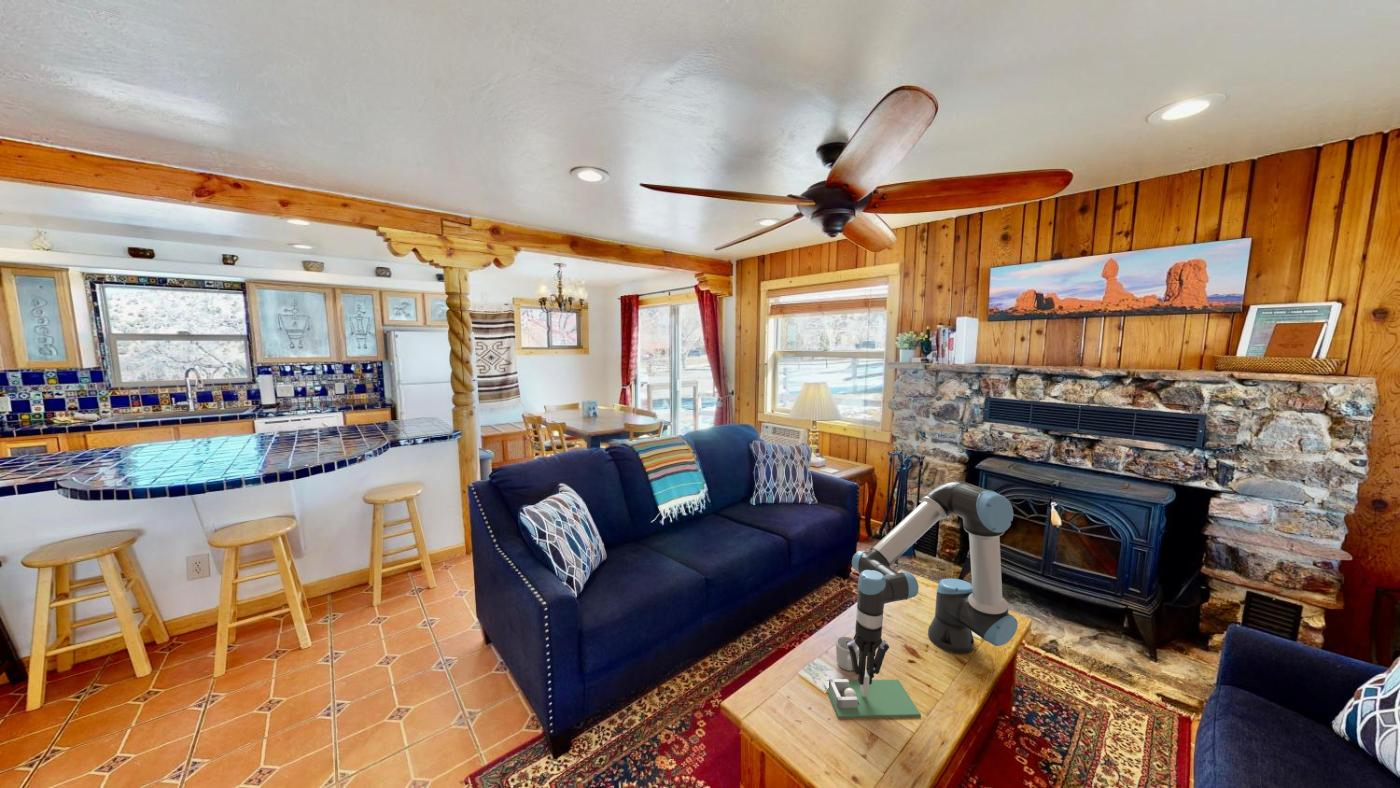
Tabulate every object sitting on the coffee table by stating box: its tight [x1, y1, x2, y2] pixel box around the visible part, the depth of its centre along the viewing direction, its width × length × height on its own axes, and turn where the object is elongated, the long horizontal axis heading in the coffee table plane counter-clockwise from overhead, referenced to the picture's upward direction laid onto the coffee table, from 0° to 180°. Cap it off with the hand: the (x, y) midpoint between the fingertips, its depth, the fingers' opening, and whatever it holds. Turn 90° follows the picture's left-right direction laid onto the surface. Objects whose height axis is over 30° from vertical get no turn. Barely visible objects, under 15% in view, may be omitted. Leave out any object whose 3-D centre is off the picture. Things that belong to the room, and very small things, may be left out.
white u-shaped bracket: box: [828, 678, 858, 708], centre depth 142 cm, size 6×8×4 cm
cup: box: [835, 635, 859, 671], centre depth 155 cm, size 11×8×8 cm
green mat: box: [826, 679, 922, 719], centre depth 142 cm, size 25×14×1 cm, turn 93°
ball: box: [843, 688, 856, 697], centre depth 142 cm, size 4×4×4 cm
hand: (864, 692), depth 142 cm, fingers closed
